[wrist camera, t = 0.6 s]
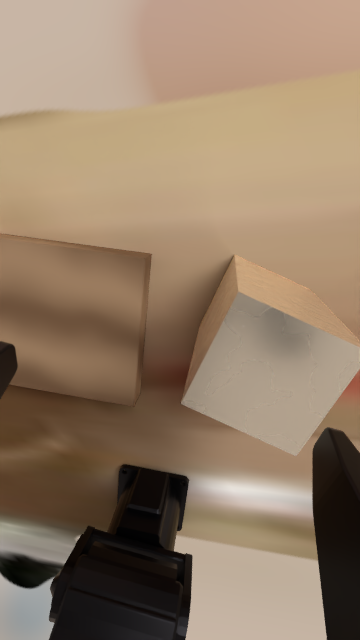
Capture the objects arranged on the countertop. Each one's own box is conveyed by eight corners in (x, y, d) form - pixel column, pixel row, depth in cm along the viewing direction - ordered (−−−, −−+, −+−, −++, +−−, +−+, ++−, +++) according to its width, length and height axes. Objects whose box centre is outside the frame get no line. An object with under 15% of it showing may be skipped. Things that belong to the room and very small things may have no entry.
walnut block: (140, 393, 29) (134, 406, 27) (9, 370, 30) (-6, 381, 28) (151, 253, 25) (145, 257, 23) (-1, 233, 26) (-19, 235, 24)
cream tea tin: (269, 357, 26) (296, 456, 16) (199, 325, 26) (180, 403, 16) (310, 289, 24) (371, 352, 14) (234, 254, 24) (238, 291, 14)
